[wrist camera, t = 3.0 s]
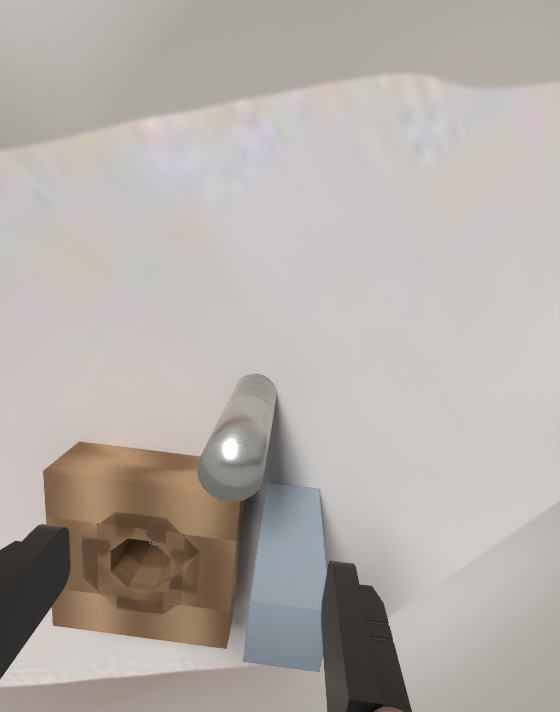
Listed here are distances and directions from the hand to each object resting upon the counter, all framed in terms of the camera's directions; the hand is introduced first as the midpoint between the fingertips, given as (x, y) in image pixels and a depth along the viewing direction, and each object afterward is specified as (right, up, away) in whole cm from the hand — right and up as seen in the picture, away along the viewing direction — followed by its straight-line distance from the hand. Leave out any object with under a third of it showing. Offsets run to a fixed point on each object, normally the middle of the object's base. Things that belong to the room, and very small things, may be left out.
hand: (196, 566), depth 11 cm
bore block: (-7, -7, +18) cm, 21 cm away
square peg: (+3, -5, +17) cm, 18 cm away
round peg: (+1, +4, +15) cm, 15 cm away
